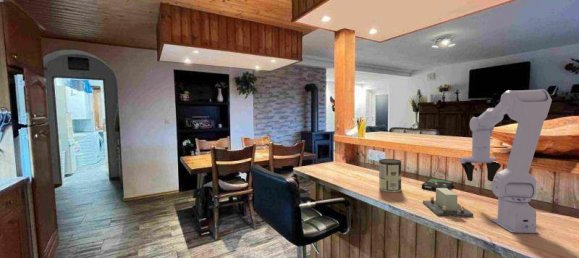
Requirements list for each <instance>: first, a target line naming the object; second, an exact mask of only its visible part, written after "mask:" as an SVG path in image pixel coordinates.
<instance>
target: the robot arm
mask: <svg viewBox="0 0 579 258" xmlns="http://www.w3.org/2000/svg"><path fill="white" fill-rule="evenodd" d="M552 101H553V99H552V98H551V96H550V93H549V92H548V91H547V90H546V89H544V88H540V89H526V90H525V89H524V90H512V89H511V90H509V89H508V90H506V91H505V92H503V93H502V94H501V96H500V102H499V103H498V104H496V105H495V107H488V108H486V109H485V111H484V112H483V113H481V114H480V115H479V116H476V117H475V116H472V118H470V121H469V128H470V131H471V132H472V144H471V156H466V157H459V163H461V166H462V168H463V170H464V172H465V174H466V179H467V181H468V182H473V180H474V179H473V175H474V170H475V166H476V165H474V164H486V169H487V170H486V171H487V174H486V175H487V176H486V178H487V181H489V182H491V185H490V186H491V190H492V193H493V195H495V197H497V217H496V218H495V217H492V218H490V220H491V221H492V222H494V223H495V224H497V225H499V226H500V227H502V228H503V229H505V230H506V231H509V233H519V234H520V233H521V234H523V233H525V234H539V231H538V230H537V228H536V227H537V211H536V209H534V207H532V206H531V205H530V204H529V202H531V199H534V198H535V196H536V195H537V183H538V180H537V179H536V177H534V176H533V175H532V174H530V173H529V172H530V169H531V165H532V162H533V159H534V155H535V152H536V149H537V146H538V143H539V139H540V136H541V133H542V130H543V125H544V122H545V120H546V119H547V118H548V113H549V111H550V107H551V104H552ZM505 115H507V116H508V117H509V118H510V120H513V121H516V122H517V126H516V131H515V134H514V138H513V142H512V145H511V149H510V152H509V156H508V162H507V164H506V168H504V169H502V170H500V168H501V166H502V163H496V162H493V161H497V159H495V158H496V157H492V158H490V157H491V137H492V136H493V132H494V130H495V125H497V124H498V123H500V122H502V121H503V119H504V116H505ZM498 170H499V171H498Z"/></svg>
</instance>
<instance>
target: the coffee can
mask: <svg viewBox="0 0 579 258" xmlns="http://www.w3.org/2000/svg"><path fill="white" fill-rule="evenodd" d="M378 168H379V169H378V175H379V176H378V177H379V178H378V183H379V184H378V185H379V186H378V189H379V190H381V191H384V192H386V193H399V192H401V191H402V160H400V159H397V158H396V159H394V158H381V159H378Z"/></svg>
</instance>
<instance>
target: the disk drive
mask: <svg viewBox="0 0 579 258" xmlns="http://www.w3.org/2000/svg"><path fill="white" fill-rule="evenodd" d="M453 186H454V181H451V180H446V179H438V178H437V179H436V178H429V179H428V180H426V181H425V182H423V183H422V184H421V189H422V190H427V191H432V192H436V188H447V189H449V190H451V188H453Z"/></svg>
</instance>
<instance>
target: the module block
mask: <svg viewBox="0 0 579 258" xmlns="http://www.w3.org/2000/svg"><path fill="white" fill-rule="evenodd" d="M458 196H459V195H458V194H457V193H455V192H453V190H451V189H447V188H436V191H435V201H436V203H437V204H438V205H439V206H441V207H442V208H443V206H446V210H448V211H457V204H458Z"/></svg>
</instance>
